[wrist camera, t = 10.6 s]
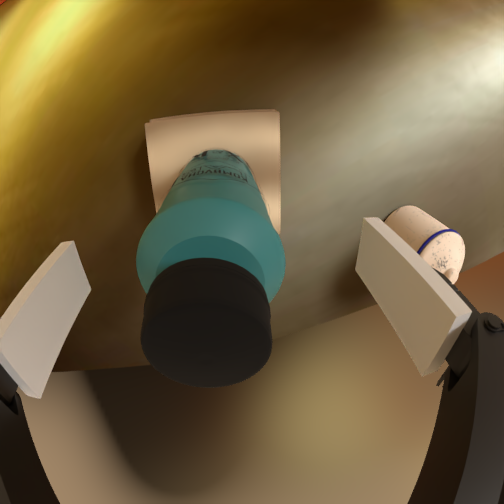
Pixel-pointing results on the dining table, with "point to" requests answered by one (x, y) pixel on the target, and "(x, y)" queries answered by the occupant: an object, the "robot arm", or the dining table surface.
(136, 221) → the dining table surface
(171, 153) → the tan flat square block
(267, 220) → the beverage bottle
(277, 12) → the dining table surface
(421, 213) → the teacup with lid
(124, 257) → the dining table surface
